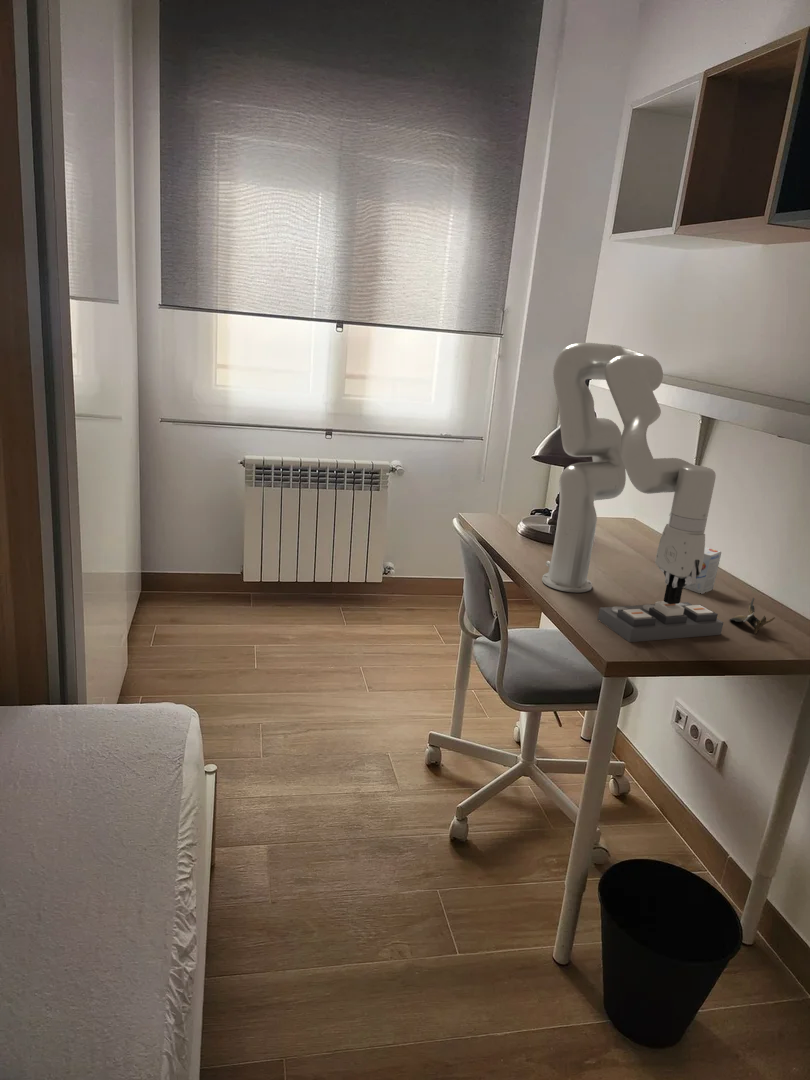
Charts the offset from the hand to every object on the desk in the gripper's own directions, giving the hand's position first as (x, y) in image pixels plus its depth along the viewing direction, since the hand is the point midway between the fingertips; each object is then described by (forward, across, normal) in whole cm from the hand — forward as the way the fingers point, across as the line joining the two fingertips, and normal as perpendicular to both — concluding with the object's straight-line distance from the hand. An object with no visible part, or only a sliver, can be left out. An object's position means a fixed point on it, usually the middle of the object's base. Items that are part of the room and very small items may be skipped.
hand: (671, 602), depth 172 cm
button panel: (+7, -2, 0) cm, 7 cm away
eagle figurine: (+7, +1, +23) cm, 24 cm away
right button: (+4, 0, +8) cm, 9 cm away
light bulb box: (+7, -25, +28) cm, 38 cm away
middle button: (+2, 0, 0) cm, 2 cm away
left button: (+4, 0, -9) cm, 9 cm away
